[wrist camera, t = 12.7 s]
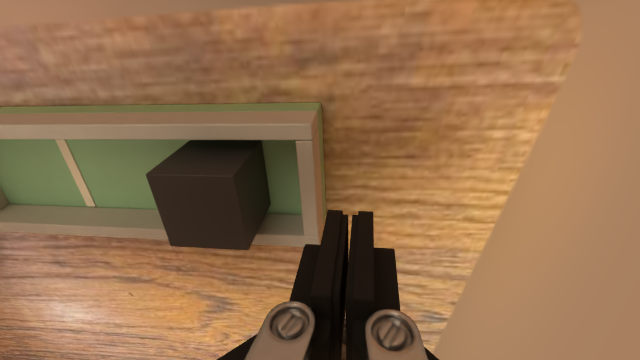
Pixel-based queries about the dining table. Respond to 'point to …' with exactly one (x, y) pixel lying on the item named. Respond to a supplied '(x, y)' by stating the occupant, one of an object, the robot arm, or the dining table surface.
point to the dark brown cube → (212, 193)
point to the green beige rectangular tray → (150, 166)
